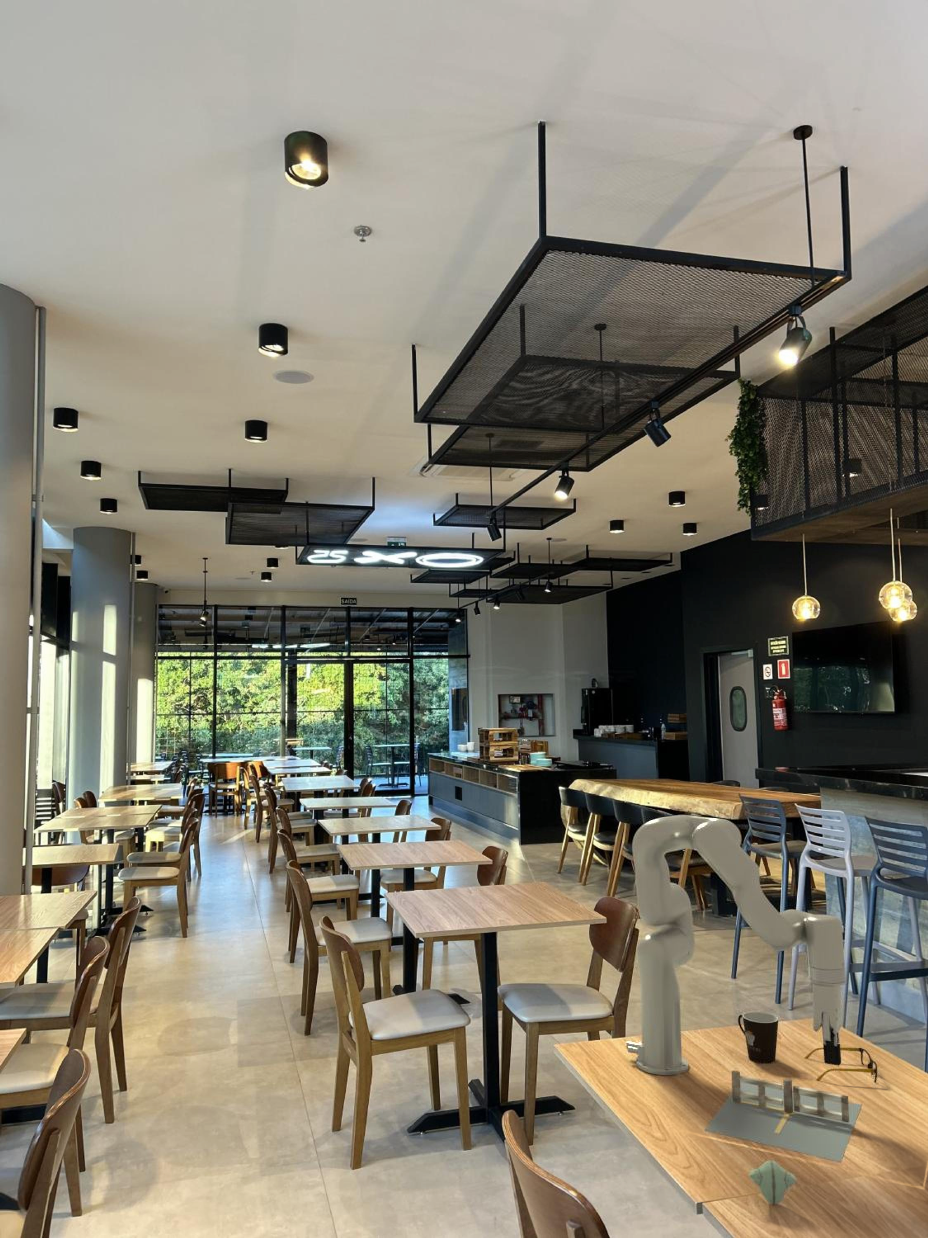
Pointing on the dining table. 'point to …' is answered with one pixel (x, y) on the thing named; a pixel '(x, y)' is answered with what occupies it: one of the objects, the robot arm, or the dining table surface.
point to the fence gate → (821, 1103)
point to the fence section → (762, 1091)
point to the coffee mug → (760, 1036)
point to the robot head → (772, 1181)
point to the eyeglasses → (869, 1070)
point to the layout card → (786, 1124)
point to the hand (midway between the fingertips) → (832, 1063)
